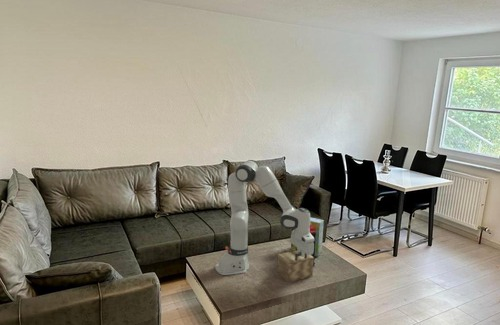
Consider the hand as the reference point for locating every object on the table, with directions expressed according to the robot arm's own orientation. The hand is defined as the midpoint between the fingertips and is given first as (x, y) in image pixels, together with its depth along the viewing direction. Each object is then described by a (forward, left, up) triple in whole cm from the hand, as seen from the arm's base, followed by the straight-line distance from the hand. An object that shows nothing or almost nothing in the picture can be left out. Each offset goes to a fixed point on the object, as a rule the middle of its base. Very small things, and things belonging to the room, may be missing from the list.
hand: (300, 255), depth 217 cm
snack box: (+26, +30, -16) cm, 43 cm away
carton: (0, +5, -15) cm, 16 cm away
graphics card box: (+16, +18, -16) cm, 29 cm away
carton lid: (0, +5, -3) cm, 6 cm away
